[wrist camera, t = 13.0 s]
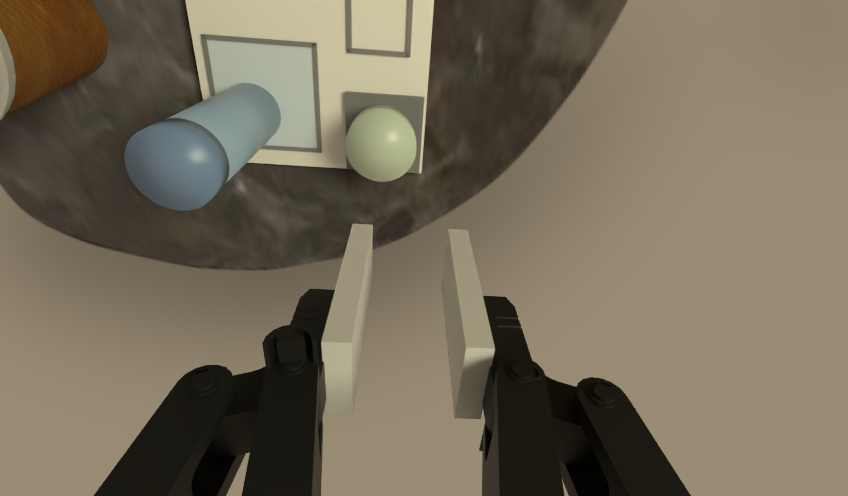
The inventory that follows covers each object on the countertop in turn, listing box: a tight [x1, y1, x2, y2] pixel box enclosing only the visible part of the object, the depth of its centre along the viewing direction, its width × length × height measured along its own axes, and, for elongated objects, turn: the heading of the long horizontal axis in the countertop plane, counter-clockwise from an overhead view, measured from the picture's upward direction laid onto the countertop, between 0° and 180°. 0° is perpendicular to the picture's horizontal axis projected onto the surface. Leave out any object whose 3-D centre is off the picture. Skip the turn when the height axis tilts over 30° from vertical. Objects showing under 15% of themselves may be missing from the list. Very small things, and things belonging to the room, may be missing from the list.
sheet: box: [185, 0, 434, 173], centre depth 30 cm, size 14×16×1 cm
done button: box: [345, 105, 416, 182], centre depth 30 cm, size 5×5×2 cm
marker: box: [124, 83, 281, 211], centre depth 26 cm, size 4×4×12 cm
